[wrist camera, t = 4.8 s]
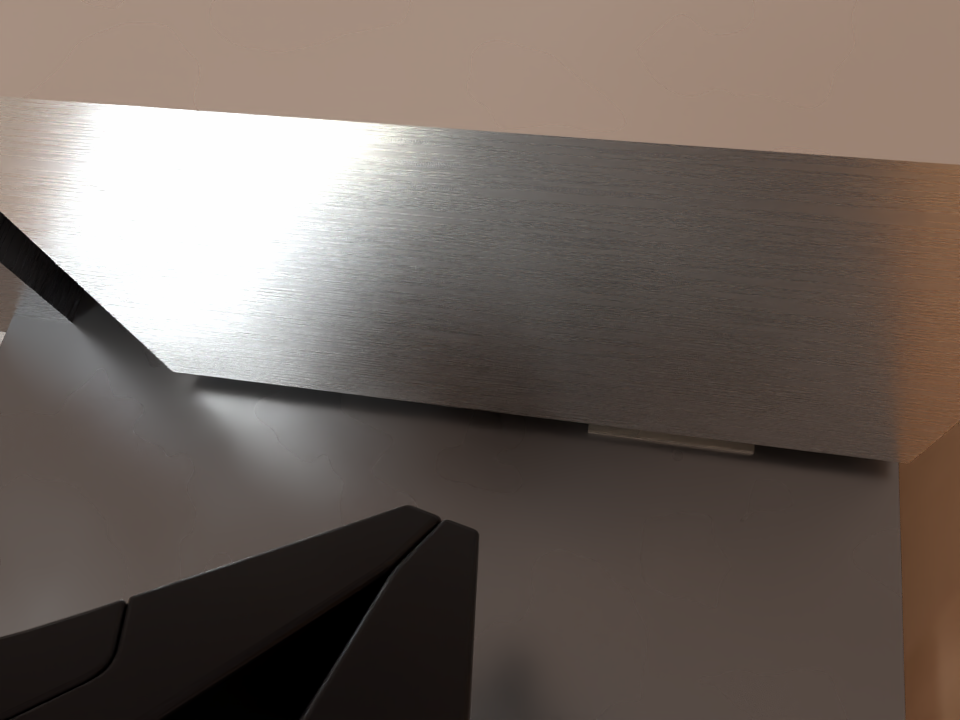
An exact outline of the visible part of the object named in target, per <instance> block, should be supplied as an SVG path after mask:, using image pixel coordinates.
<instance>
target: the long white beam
mask: <svg viewBox="0 0 960 720" xmlns="http://www.w3.org/2000/svg"><path fill="white" fill-rule="evenodd" d="M0 212H1V213H3V214H4V215H5V216H6V217H7V218H8V219H9V220H10V221H11V222H12V223H13V224H14V225H15V226H17V227H18V228H19V229H20V230H21V231H22V232H23V233H24V234H25V235H26V236H27V237H28V238H29V239H31V240H32V241H33V242H34V243H35V244H36V245H37V246H38V247H39V248H40V249H41V250H42V251H43V252H45V253H46V254H47V255H48V256H49V257H50V258H51V259H52V260H53V261H54V262H55V263H56V264H57V265H59V266H60V267H61V268H62V269H63V270H64V271H65V272H66V273H67V274H68V275H69V276H70V277H71V278H73V279H74V280H75V281H76V282H77V283H78V284H79V285H80V286H81V287H82V288H83V289H84V290H85V291H87V292H88V293H89V294H90V295H91V296H92V297H93V298H94V299H95V300H96V301H97V302H98V303H99V304H101V305H102V306H103V307H104V308H105V309H106V310H107V311H108V312H109V313H110V314H111V315H112V316H113V317H115V318H116V319H117V320H118V321H119V322H120V323H121V324H122V325H123V326H124V327H125V328H126V329H127V330H129V331H130V332H131V333H132V334H133V335H134V336H135V337H136V338H137V339H138V340H139V341H140V342H141V343H143V344H144V345H145V346H146V347H147V348H148V349H149V350H150V351H151V352H152V353H153V354H154V355H155V356H157V357H158V358H159V359H160V360H161V361H162V362H163V363H164V364H165V365H166V366H167V367H168V368H169V369H171V370H172V371H173V372H179V373H187V374H195V375H203V376H211V377H219V378H227V379H235V380H243V381H251V382H259V383H267V384H275V385H283V386H291V387H299V388H307V389H315V390H323V391H331V392H339V393H347V394H355V395H363V396H371V397H379V398H387V399H395V400H403V401H411V402H419V403H427V404H435V405H443V406H451V407H459V408H467V409H475V410H483V411H491V412H499V413H507V414H515V415H523V416H531V417H539V418H547V419H555V420H563V421H571V422H579V423H587V424H595V425H603V426H611V427H619V428H627V429H635V430H643V431H651V432H659V433H667V434H675V435H683V436H691V437H699V438H707V439H715V440H723V441H731V442H739V443H747V444H755V445H763V446H771V447H779V448H787V449H795V450H803V451H811V452H819V453H827V454H835V455H843V456H851V457H859V458H867V459H875V460H883V461H891V462H899V463H907V464H909V463H910V462H912V461H913V460H914V459H915V458H916V457H918V456H919V455H920V454H921V453H922V452H923V451H925V450H926V449H927V448H928V447H929V446H931V445H932V444H933V443H934V442H935V441H937V440H938V439H939V438H940V437H941V436H943V435H944V434H945V433H946V432H947V431H949V430H950V429H951V428H952V427H953V426H955V425H956V424H957V423H958V422H959V421H960V0H0Z"/></svg>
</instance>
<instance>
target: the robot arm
mask: <svg viewBox="0 0 960 720" xmlns="http://www.w3.org/2000/svg"><path fill="white" fill-rule="evenodd" d="M478 554H479V533H478V531H477V530H475V529H473V528H470V527H467V526H465V525H462V524H459V523H457V522H454V521H451V520H443V521H441V518H440V517H439V516H437V515H435V514H432V513H430V512H427V511H425V510H422V509H419V508H417V507H414V506H411V505H405V506H401V507H398V508H395V509H392V510H389V511H386V512H383V513H380V514H377V515H374V516H371V517H368V518H365V519H362V520H359V521H356V522H353V523H350V524H347V525H344V526H341V527H338V528H335V529H332V530H329V531H326V532H323V533H320V534H317V535H314V536H311V537H308V538H305V539H302V540H299V541H296V542H293V543H290V544H287V545H284V546H281V547H278V548H275V549H272V550H269V551H266V552H263V553H260V554H257V555H254V556H251V557H248V558H245V559H242V560H239V561H236V562H233V563H230V564H227V565H224V566H221V567H218V568H215V569H212V570H209V571H206V572H203V573H200V574H197V575H194V576H191V577H188V578H185V579H182V580H179V581H176V582H173V583H170V584H167V585H164V586H161V587H158V588H155V589H152V590H149V591H146V592H143V593H140V594H137V595H134V596H131V597H130V598H129V599H128V601H127V604H126V602H125V601H124V600H118V601H115V602H112V603H109V604H106V605H103V606H100V607H97V608H94V609H91V610H88V611H85V612H82V613H79V614H76V615H73V616H69V617H66V618H63V619H60V620H56V621H53V622H50V623H47V624H44V625H40V626H37V627H34V628H31V629H27V630H24V631H20V632H17V633H13V634H9V635H5V636H2V637H0V720H470V710H471V690H472V671H473V651H474V632H475V612H476V593H477V573H478Z"/></svg>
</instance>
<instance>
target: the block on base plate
mask: <svg viewBox="0 0 960 720" xmlns="http://www.w3.org/2000/svg"><path fill="white" fill-rule="evenodd" d="M0 331H2V332H6V334H5V336H4V339H3V341H2V343H1V345H0V637H2V636H5V635H9V634H13V633H17V632H20V631H24V630H27V629H31V628H34V627H37V626H40V625H44V624H47V623H50V622H53V621H56V620H60V619H63V618H66V617H69V616H73V615H76V614H79V613H82V612H85V611H88V610H91V609H94V608H97V607H100V606H103V605H106V604H109V603H112V602H115V601H118V600H124V601H125V602H126V604H127V601H128V599H129V598H130V597H131V596H134V595H137V594H140V593H143V592H146V591H149V590H152V589H155V588H158V587H161V586H164V585H167V584H170V583H173V582H176V581H179V580H182V579H185V578H188V577H191V576H194V575H197V574H200V573H203V572H206V571H209V570H212V569H215V568H218V567H221V566H224V565H227V564H230V563H233V562H236V561H239V560H242V559H245V558H248V557H251V556H254V555H257V554H260V553H263V552H266V551H269V550H272V549H275V548H278V547H281V546H284V545H287V544H290V543H293V542H296V541H299V540H302V539H305V538H308V537H311V536H314V535H317V534H320V533H323V532H326V531H329V530H332V529H335V528H338V527H341V526H344V525H347V524H350V523H353V522H356V521H359V520H362V519H365V518H368V517H371V516H374V515H377V514H380V513H383V512H386V511H389V510H392V509H395V508H398V507H401V506H405V505H411V506H414V507H417V508H419V509H422V510H425V511H427V512H430V513H432V514H435V515H437V516H439V517H440V518H441V521H443V520H451V521H454V522H457V523H459V524H462V525H465V526H467V527H470V528H473V529H475V530H477V531H478V533H479V554H478V573H477V593H476V612H475V632H474V651H473V671H472V690H471V710H470V720H905V685H904V648H903V611H902V574H901V537H900V500H899V462H891V461H883V460H875V459H867V458H859V457H851V456H843V455H835V454H827V453H819V452H811V451H803V450H795V449H787V448H779V447H771V446H763V445H755V444H747V443H739V442H731V441H723V440H715V439H707V438H699V437H691V436H683V435H675V434H667V433H659V432H651V431H643V430H635V429H627V428H619V427H611V426H603V425H595V424H587V423H579V422H571V421H563V420H555V419H547V418H539V417H531V416H523V415H515V414H507V413H499V412H491V411H483V410H475V409H467V408H459V407H451V406H443V405H435V404H427V403H419V402H411V401H403V400H395V399H387V398H379V397H371V396H363V395H355V394H347V393H339V392H331V391H323V390H315V389H307V388H299V387H291V386H283V385H275V384H267V383H259V382H251V381H243V380H235V379H227V378H219V377H211V376H203V375H195V374H187V373H179V372H173V371H172V370H171V369H169V368H168V367H167V366H166V365H165V364H164V363H163V362H162V361H161V360H160V359H159V358H158V357H157V356H155V355H154V354H153V353H152V352H151V351H150V350H149V349H148V348H147V347H146V346H145V345H144V344H143V343H141V342H140V341H139V340H138V339H137V338H136V337H135V336H134V335H133V334H132V333H131V332H130V331H129V330H127V329H126V328H125V327H124V326H123V325H122V324H121V323H120V322H119V321H118V320H117V319H116V318H115V317H113V316H112V315H111V314H110V313H109V312H108V311H107V310H106V309H105V308H104V307H103V306H102V305H101V304H99V303H98V302H97V301H96V300H95V299H94V298H93V297H92V296H91V295H90V294H89V293H88V292H87V291H85V290H84V289H83V288H82V287H81V286H80V285H79V284H78V283H77V282H76V281H75V280H74V279H73V278H71V277H70V276H69V275H68V274H67V273H66V272H65V271H64V270H63V269H62V268H61V267H60V266H59V265H57V264H56V263H55V262H54V261H53V260H52V259H51V258H50V257H49V256H48V255H47V254H46V253H45V252H43V251H42V250H41V249H40V248H39V247H38V246H37V245H36V244H35V243H34V242H33V241H32V240H31V239H29V238H28V237H27V236H26V235H25V234H24V233H23V232H22V231H21V230H20V229H19V228H18V227H17V226H15V225H14V224H13V223H12V222H11V221H10V220H9V219H8V218H7V217H6V216H5V215H4V214H3V213H1V212H0Z"/></svg>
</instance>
